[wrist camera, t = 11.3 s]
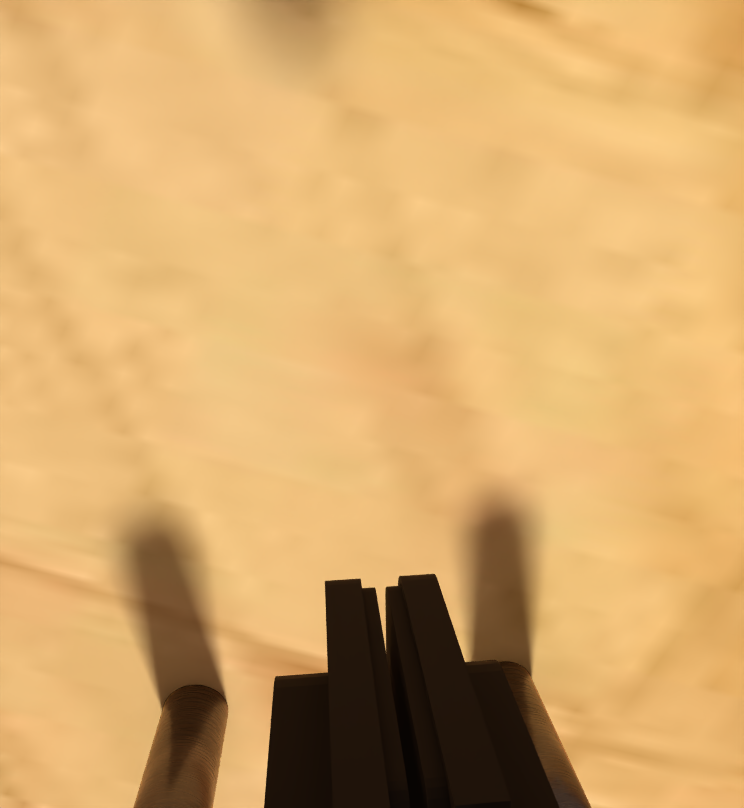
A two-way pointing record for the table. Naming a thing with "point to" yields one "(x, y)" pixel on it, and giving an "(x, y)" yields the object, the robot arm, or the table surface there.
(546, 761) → the post
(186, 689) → the post
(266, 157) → the table surface
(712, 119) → the table surface
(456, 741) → the robot arm
